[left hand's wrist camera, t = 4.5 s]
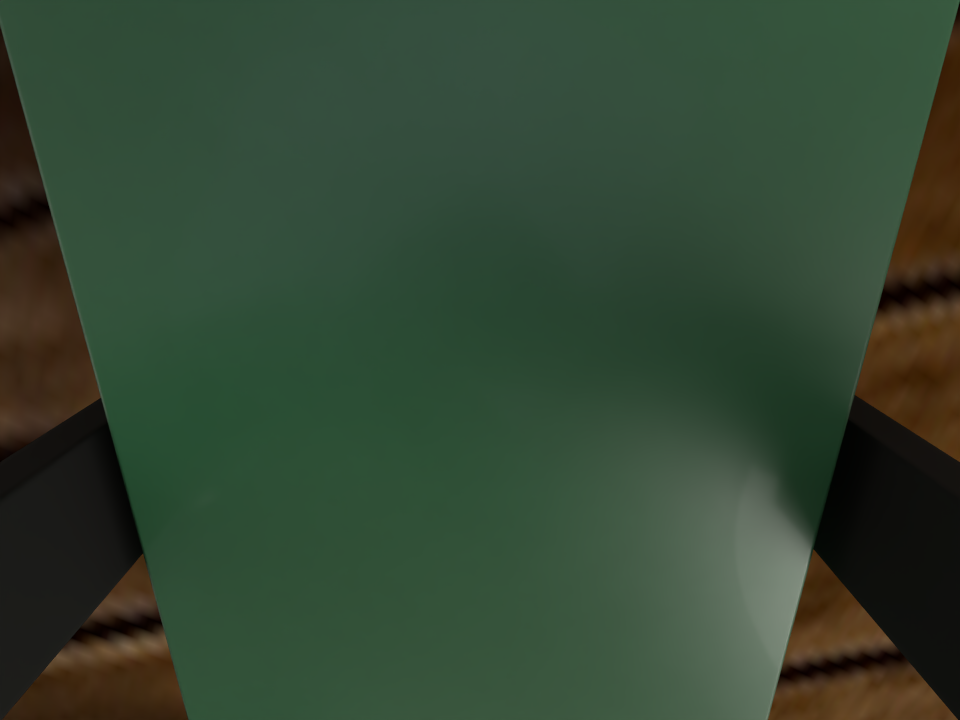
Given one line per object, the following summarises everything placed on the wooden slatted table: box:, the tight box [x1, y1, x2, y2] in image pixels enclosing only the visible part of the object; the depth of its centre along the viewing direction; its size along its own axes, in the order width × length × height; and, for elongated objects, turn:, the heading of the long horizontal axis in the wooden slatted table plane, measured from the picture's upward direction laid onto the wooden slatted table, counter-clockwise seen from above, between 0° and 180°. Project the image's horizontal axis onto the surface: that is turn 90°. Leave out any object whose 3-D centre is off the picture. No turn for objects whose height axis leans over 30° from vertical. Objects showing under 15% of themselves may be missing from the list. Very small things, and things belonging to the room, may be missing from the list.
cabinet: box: [0, 0, 960, 720], centre depth 12 cm, size 21×11×11 cm, turn 0°
